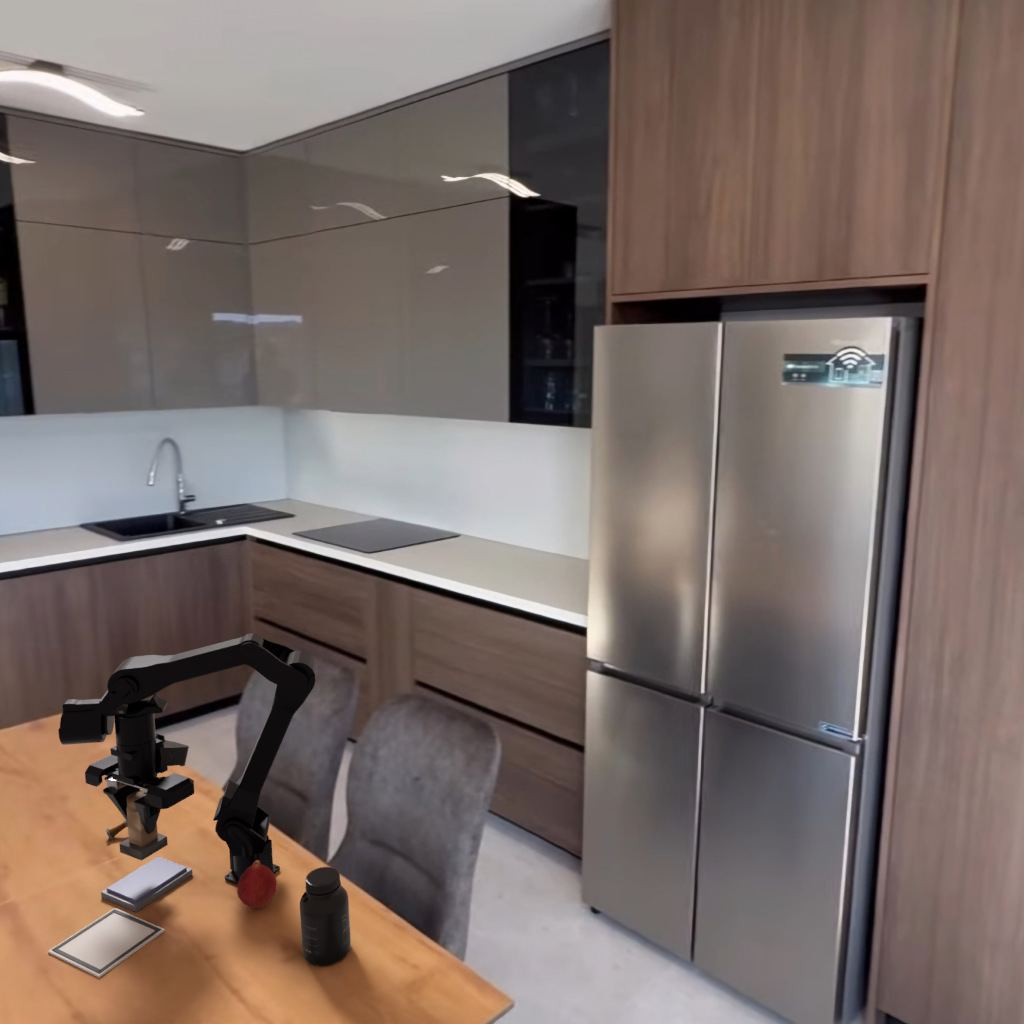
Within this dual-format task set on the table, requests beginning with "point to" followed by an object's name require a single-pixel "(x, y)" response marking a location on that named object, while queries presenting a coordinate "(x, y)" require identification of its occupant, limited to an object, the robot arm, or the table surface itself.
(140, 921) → the marked card
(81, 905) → the table surface
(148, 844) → the stamp
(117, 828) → the wooden post with brackets
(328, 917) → the supplement bottle
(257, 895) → the onion
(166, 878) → the ink pad
